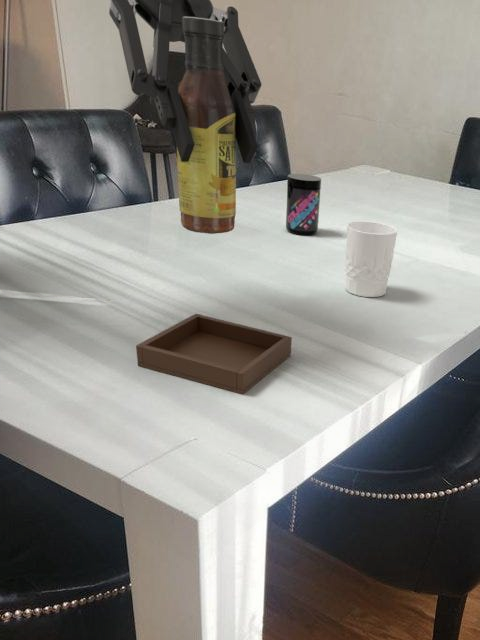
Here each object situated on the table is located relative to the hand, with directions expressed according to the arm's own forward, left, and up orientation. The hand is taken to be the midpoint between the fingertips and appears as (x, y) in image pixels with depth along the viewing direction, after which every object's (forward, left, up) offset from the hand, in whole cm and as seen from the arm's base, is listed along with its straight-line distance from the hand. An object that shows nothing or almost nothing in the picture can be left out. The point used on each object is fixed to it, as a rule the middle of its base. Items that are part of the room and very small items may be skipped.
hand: (219, 153), depth 67 cm
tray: (+1, -2, -22) cm, 22 cm away
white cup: (+7, +35, -23) cm, 42 cm away
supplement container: (-17, +63, -23) cm, 69 cm away
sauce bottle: (-3, +2, -9) cm, 9 cm away
